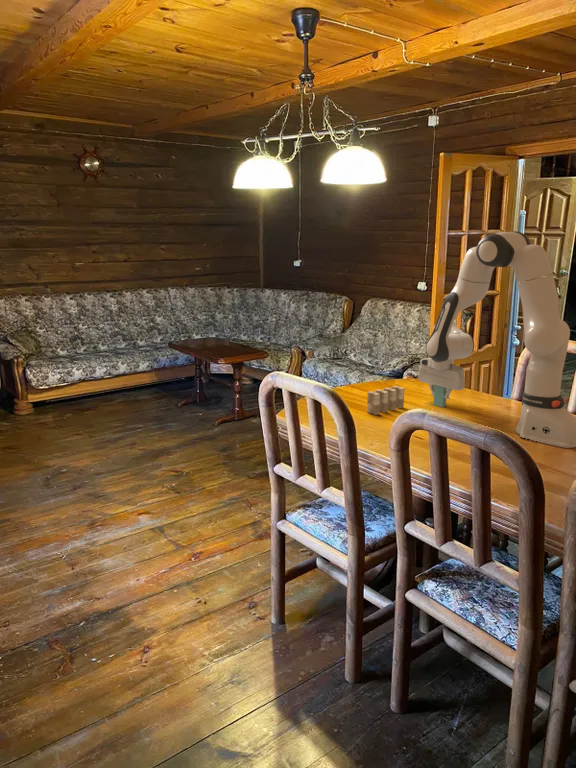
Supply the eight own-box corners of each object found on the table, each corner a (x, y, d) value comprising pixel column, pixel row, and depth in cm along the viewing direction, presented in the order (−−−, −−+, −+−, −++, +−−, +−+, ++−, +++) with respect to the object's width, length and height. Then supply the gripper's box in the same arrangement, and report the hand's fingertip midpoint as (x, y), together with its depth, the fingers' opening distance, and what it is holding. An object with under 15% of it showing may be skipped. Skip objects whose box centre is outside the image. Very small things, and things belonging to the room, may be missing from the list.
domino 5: (445, 406, 234) (447, 387, 232) (442, 407, 233) (443, 387, 231) (436, 404, 237) (437, 384, 235) (433, 404, 236) (434, 385, 234)
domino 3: (395, 409, 230) (396, 389, 228) (392, 410, 228) (392, 390, 227) (387, 407, 233) (387, 387, 231) (383, 408, 232) (384, 388, 230)
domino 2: (387, 411, 227) (388, 391, 225) (383, 412, 226) (384, 392, 224) (378, 409, 231) (379, 389, 229) (375, 410, 229) (375, 390, 227)
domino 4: (403, 407, 232) (404, 388, 230) (400, 408, 231) (400, 388, 229) (394, 405, 236) (395, 385, 234) (391, 406, 235) (392, 386, 233)
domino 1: (379, 414, 224) (379, 393, 222) (375, 415, 223) (376, 394, 221) (370, 411, 228) (371, 391, 226) (366, 412, 227) (367, 392, 225)
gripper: (469, 366, 224) (467, 401, 228) (427, 357, 240) (425, 390, 244) (459, 368, 221) (456, 403, 224) (416, 359, 237) (415, 392, 240)
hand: (440, 396), depth 234 cm, fingers closed on domino 5, 5 cm apart
